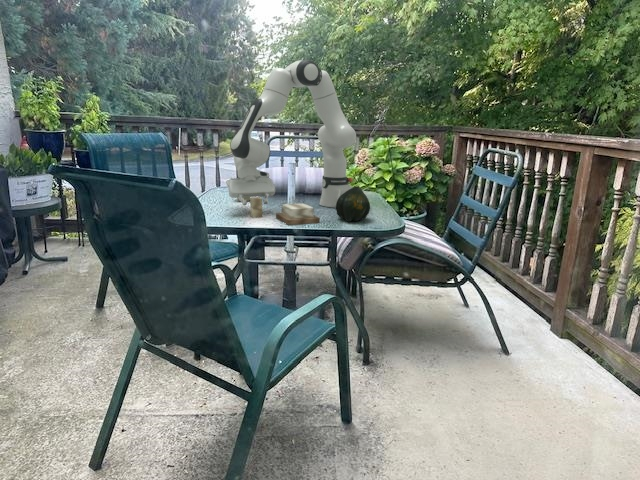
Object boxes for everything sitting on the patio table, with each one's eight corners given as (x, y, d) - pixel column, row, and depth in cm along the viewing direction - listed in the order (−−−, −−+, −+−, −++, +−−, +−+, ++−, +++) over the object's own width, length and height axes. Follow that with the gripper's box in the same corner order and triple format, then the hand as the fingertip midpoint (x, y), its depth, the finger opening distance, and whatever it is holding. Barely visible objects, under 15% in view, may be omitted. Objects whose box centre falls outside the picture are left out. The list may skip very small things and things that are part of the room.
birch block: (259, 215, 195) (259, 197, 193) (262, 217, 192) (262, 198, 190) (250, 215, 194) (250, 197, 191) (253, 217, 190) (253, 199, 188)
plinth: (305, 215, 197) (306, 202, 196) (319, 222, 185) (320, 208, 184) (275, 217, 191) (275, 203, 190) (288, 225, 179) (288, 210, 178)
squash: (330, 210, 184) (356, 183, 182) (328, 204, 198) (352, 179, 196) (355, 233, 186) (380, 207, 184) (351, 226, 201) (375, 201, 199)
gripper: (226, 174, 190) (233, 200, 185) (272, 172, 199) (279, 198, 193) (224, 182, 196) (230, 209, 190) (268, 181, 204) (276, 206, 198)
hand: (255, 203), depth 192 cm, fingers open, 8 cm apart
